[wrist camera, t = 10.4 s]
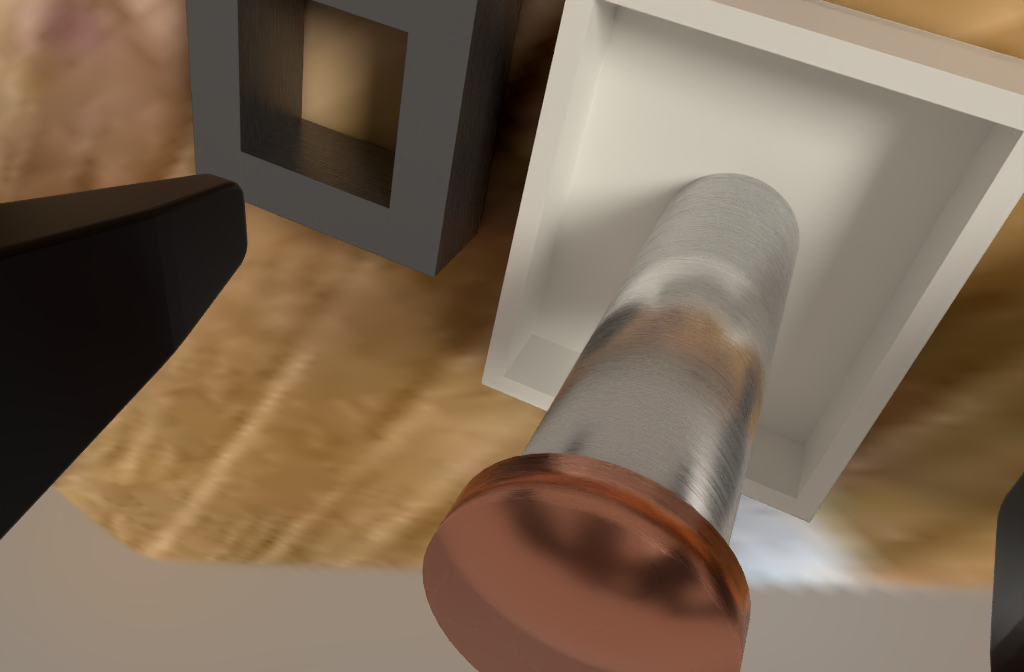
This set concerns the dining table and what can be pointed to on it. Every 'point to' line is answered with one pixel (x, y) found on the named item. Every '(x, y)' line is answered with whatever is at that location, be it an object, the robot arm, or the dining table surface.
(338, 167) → the dark grey square socket
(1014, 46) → the dining table surface
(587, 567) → the pin
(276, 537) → the dining table surface
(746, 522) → the dining table surface
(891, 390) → the tray
